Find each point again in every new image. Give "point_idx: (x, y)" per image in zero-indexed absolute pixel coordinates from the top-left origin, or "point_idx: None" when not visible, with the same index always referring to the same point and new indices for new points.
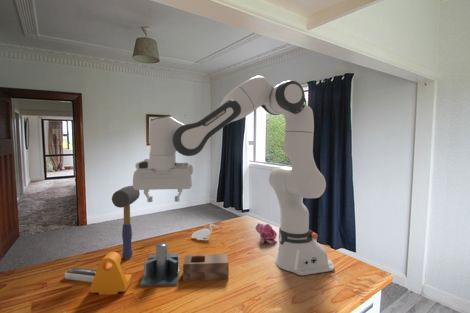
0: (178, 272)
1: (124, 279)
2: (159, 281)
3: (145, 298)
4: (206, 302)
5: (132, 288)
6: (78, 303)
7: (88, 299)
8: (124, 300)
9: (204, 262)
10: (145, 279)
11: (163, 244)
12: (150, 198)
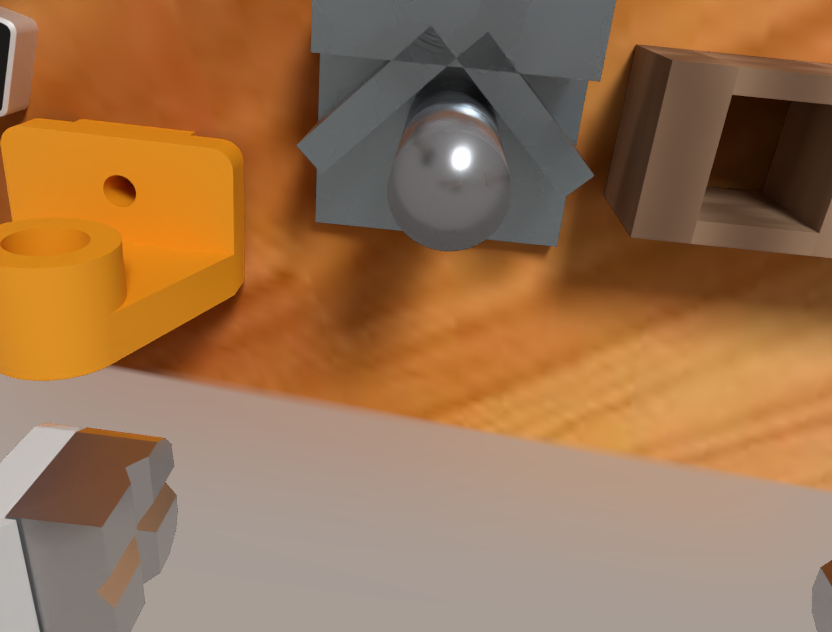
0: (580, 111)
1: (213, 286)
2: None
3: (376, 339)
4: (703, 427)
5: (274, 226)
6: None
7: None
8: (265, 336)
9: (816, 236)
10: (339, 173)
11: (468, 184)
12: (104, 623)
